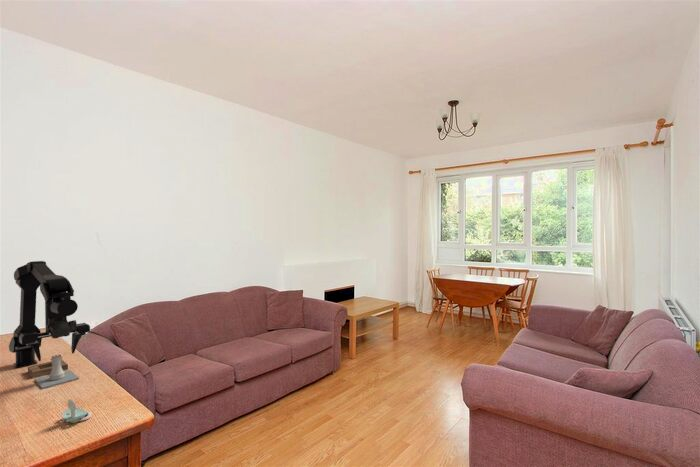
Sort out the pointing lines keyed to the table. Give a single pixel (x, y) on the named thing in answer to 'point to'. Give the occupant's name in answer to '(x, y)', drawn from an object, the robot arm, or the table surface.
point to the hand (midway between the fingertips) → (56, 357)
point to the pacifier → (75, 413)
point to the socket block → (44, 369)
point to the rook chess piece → (56, 368)
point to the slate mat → (46, 383)
